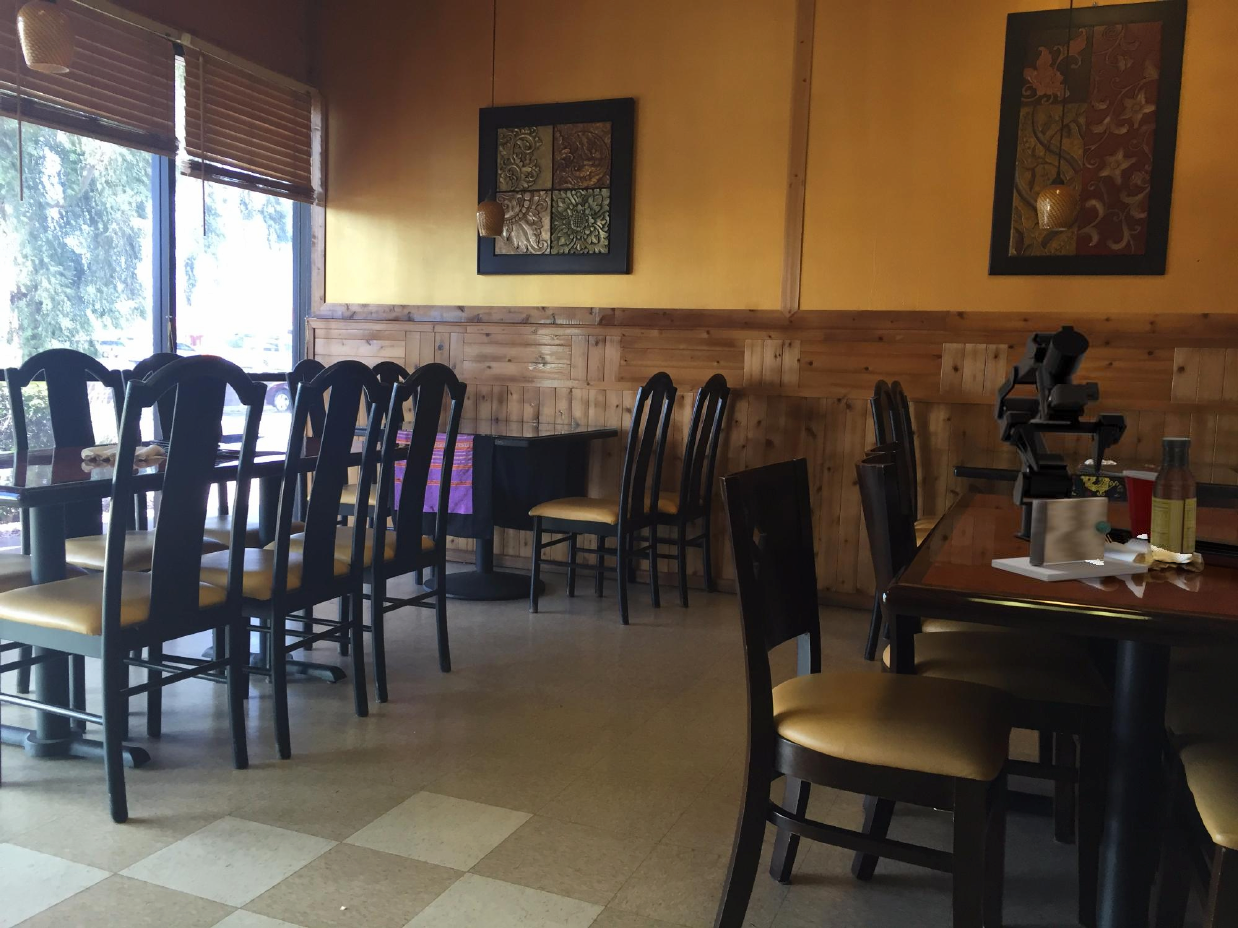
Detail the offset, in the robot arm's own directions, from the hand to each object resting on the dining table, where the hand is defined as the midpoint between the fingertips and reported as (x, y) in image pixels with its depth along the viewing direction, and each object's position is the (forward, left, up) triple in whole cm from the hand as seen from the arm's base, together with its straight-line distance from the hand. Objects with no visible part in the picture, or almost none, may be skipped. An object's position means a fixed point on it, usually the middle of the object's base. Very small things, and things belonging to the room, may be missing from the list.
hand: (1067, 470), depth 160 cm
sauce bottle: (+5, +16, -14) cm, 22 cm away
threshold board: (+10, -5, -14) cm, 18 cm away
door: (+11, -5, -13) cm, 18 cm away
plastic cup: (-15, +27, -14) cm, 34 cm away
